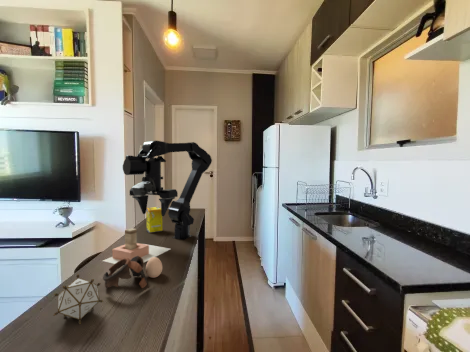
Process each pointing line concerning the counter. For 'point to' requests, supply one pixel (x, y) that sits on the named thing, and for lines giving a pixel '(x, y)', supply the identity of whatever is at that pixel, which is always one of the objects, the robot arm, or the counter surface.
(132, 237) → the dowel
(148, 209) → the supplement box
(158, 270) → the egg
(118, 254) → the pink square ring
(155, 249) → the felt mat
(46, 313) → the counter surface
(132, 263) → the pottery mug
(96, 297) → the game die
